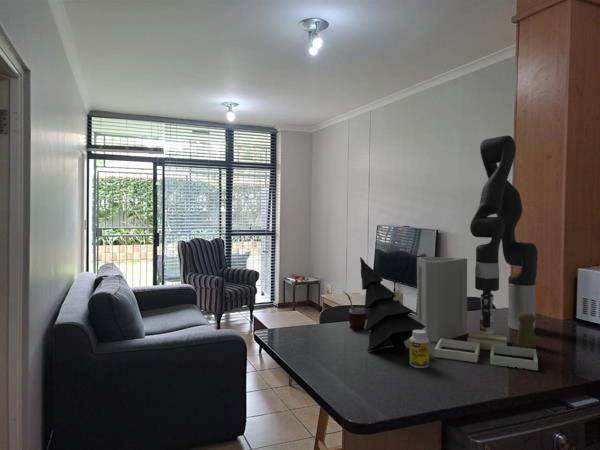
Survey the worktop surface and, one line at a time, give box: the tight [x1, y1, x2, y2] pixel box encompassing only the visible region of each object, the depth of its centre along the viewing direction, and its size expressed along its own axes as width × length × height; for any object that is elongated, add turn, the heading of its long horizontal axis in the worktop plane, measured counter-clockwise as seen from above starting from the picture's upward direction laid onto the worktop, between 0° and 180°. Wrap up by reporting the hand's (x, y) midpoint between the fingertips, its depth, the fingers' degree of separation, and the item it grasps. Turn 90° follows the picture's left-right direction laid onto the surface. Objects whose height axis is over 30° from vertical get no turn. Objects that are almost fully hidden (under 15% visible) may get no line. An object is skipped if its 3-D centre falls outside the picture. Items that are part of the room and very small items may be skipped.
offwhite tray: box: [434, 338, 481, 363], centre depth 138 cm, size 12×12×2 cm
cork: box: [515, 312, 537, 349], centre depth 146 cm, size 6×6×11 cm
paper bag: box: [416, 256, 468, 344], centre depth 161 cm, size 19×15×28 cm
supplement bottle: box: [409, 330, 430, 369], centre depth 128 cm, size 6×6×10 cm
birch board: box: [466, 332, 508, 351], centre depth 147 cm, size 12×12×2 cm
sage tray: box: [489, 344, 539, 371], centre depth 131 cm, size 12×12×2 cm
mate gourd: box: [343, 291, 367, 332], centre depth 169 cm, size 8×8×15 cm
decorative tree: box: [359, 257, 426, 355], centre depth 146 cm, size 15×15×35 cm
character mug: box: [391, 290, 404, 305], centre depth 174 cm, size 11×7×13 cm, turn 131°
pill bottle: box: [479, 309, 495, 335], centre depth 147 cm, size 4×4×8 cm
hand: (486, 325), depth 147 cm, fingers closed on pill bottle, 4 cm apart
